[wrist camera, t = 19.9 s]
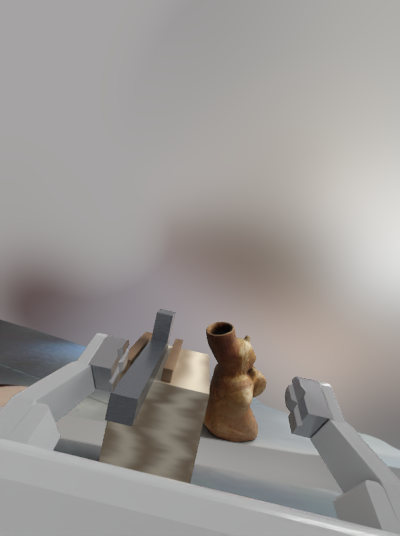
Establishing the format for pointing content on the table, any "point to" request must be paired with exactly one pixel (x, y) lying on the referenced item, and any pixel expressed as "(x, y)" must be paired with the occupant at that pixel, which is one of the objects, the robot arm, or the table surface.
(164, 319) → the bracket
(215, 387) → the ceramic vessel
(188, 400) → the stand
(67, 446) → the table surface
